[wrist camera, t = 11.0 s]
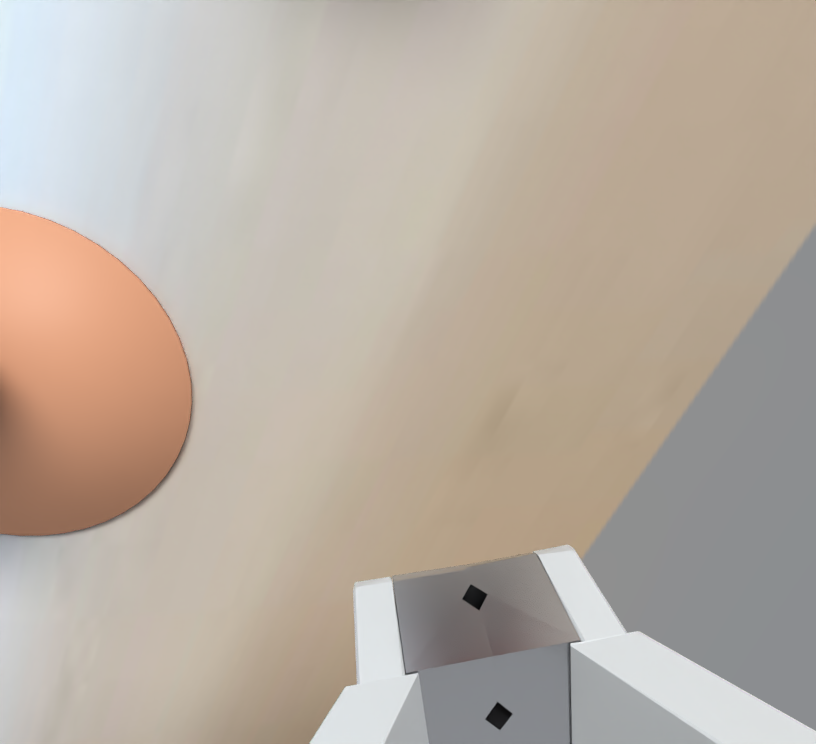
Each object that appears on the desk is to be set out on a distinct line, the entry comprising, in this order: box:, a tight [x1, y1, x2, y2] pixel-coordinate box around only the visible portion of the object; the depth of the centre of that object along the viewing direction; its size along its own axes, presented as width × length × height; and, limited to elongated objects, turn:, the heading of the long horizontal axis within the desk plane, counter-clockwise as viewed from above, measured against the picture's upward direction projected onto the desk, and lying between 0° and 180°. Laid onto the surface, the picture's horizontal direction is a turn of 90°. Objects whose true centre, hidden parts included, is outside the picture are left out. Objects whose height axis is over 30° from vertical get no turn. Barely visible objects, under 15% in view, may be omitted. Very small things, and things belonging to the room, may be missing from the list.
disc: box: [0, 207, 192, 536], centre depth 20 cm, size 12×12×1 cm
